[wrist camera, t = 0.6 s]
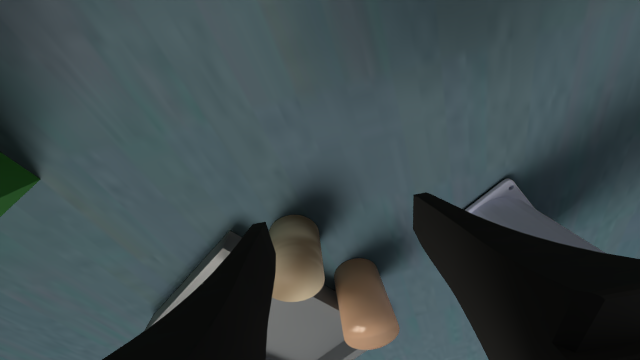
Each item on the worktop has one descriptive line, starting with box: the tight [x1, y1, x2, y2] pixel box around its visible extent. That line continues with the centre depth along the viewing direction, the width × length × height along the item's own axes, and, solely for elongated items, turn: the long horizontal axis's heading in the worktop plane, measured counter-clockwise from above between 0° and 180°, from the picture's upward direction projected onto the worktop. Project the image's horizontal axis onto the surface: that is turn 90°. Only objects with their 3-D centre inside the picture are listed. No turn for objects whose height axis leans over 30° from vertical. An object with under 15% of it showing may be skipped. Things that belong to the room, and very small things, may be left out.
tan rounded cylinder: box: [334, 258, 399, 350], centre depth 24 cm, size 5×5×6 cm
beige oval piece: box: [269, 215, 325, 302], centre depth 21 cm, size 5×5×6 cm
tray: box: [145, 231, 367, 360], centre depth 28 cm, size 22×15×2 cm
